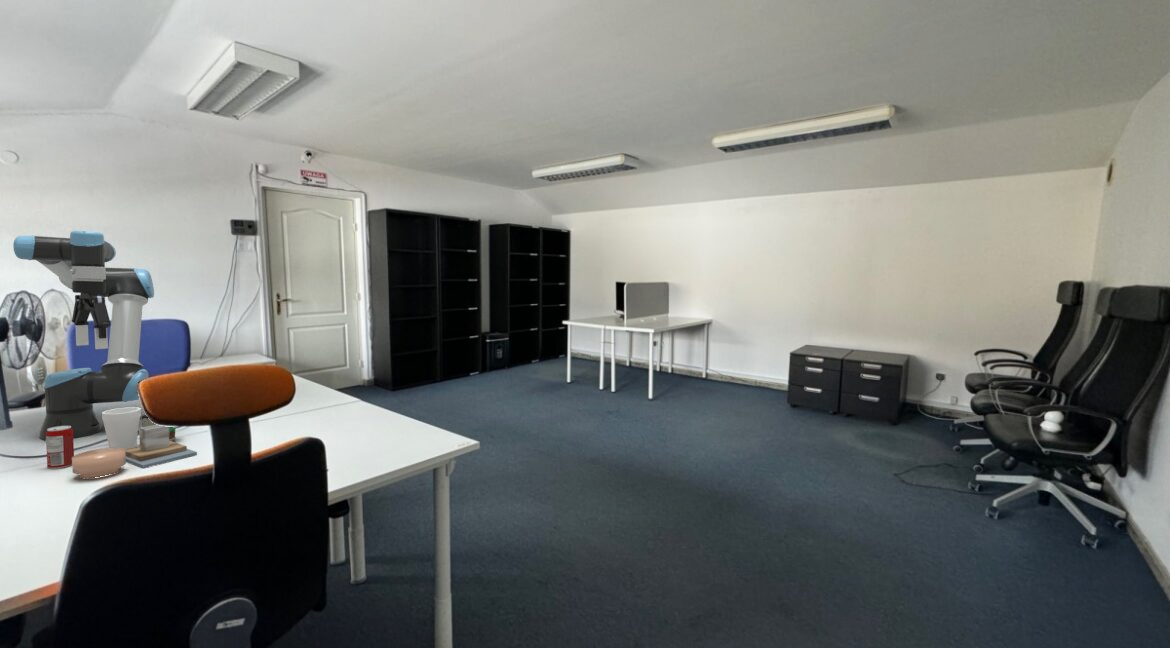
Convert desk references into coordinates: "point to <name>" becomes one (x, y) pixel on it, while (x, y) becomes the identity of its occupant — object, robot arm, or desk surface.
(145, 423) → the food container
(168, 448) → the lid
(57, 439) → the soda can
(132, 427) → the foam cup
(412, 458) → the desk surface
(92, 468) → the bowl
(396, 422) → the desk surface
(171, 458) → the mat
